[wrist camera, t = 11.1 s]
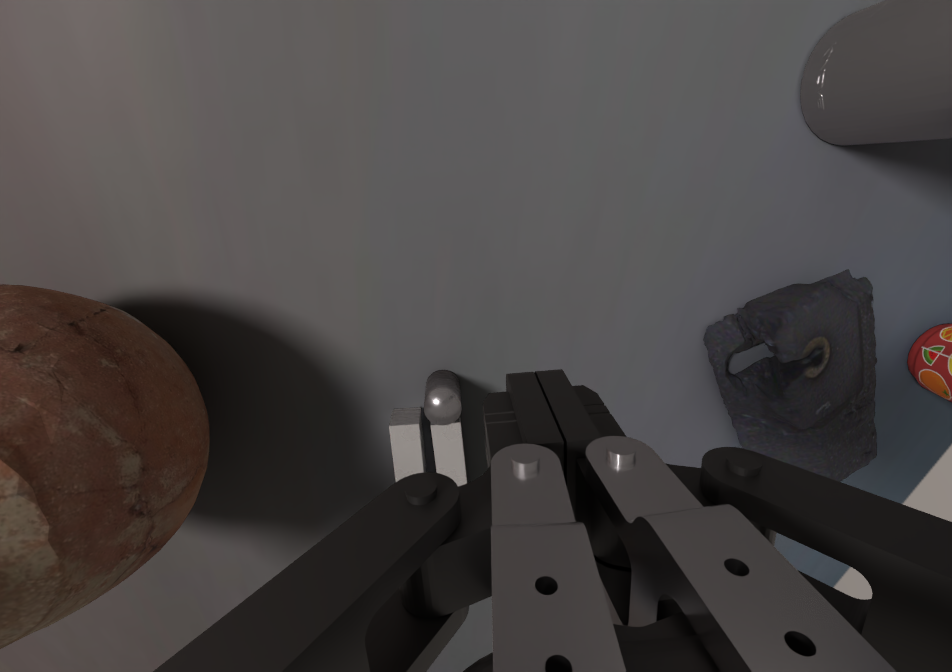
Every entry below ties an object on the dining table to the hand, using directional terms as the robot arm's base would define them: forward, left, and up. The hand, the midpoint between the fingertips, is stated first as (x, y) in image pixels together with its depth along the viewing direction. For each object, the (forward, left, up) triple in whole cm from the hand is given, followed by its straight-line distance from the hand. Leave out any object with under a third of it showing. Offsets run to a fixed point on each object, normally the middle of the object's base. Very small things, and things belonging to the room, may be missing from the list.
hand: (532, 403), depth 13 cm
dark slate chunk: (-30, +15, -27) cm, 43 cm away
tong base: (+5, +21, -26) cm, 34 cm away
